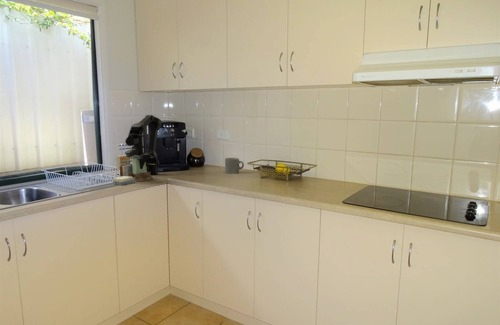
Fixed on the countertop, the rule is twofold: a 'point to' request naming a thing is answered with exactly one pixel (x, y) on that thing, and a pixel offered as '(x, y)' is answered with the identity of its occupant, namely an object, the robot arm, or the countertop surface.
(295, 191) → the countertop surface
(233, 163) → the coffee mug
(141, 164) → the robot arm
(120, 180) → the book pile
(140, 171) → the sage book
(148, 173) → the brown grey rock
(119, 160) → the supplement box
